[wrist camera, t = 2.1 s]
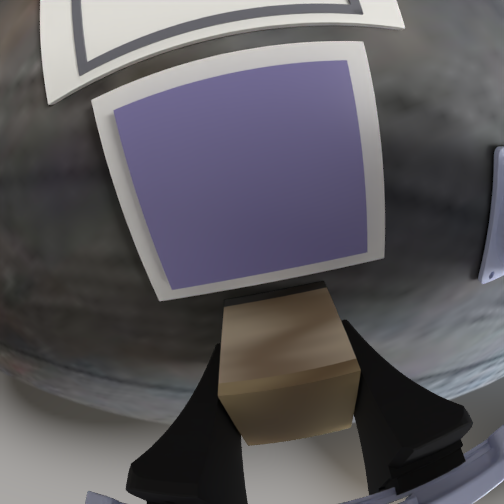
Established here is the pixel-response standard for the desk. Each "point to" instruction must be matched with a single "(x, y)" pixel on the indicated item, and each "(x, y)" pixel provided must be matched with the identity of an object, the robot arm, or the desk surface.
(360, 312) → the desk surface
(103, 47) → the print card
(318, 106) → the ink pad
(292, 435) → the stamp
